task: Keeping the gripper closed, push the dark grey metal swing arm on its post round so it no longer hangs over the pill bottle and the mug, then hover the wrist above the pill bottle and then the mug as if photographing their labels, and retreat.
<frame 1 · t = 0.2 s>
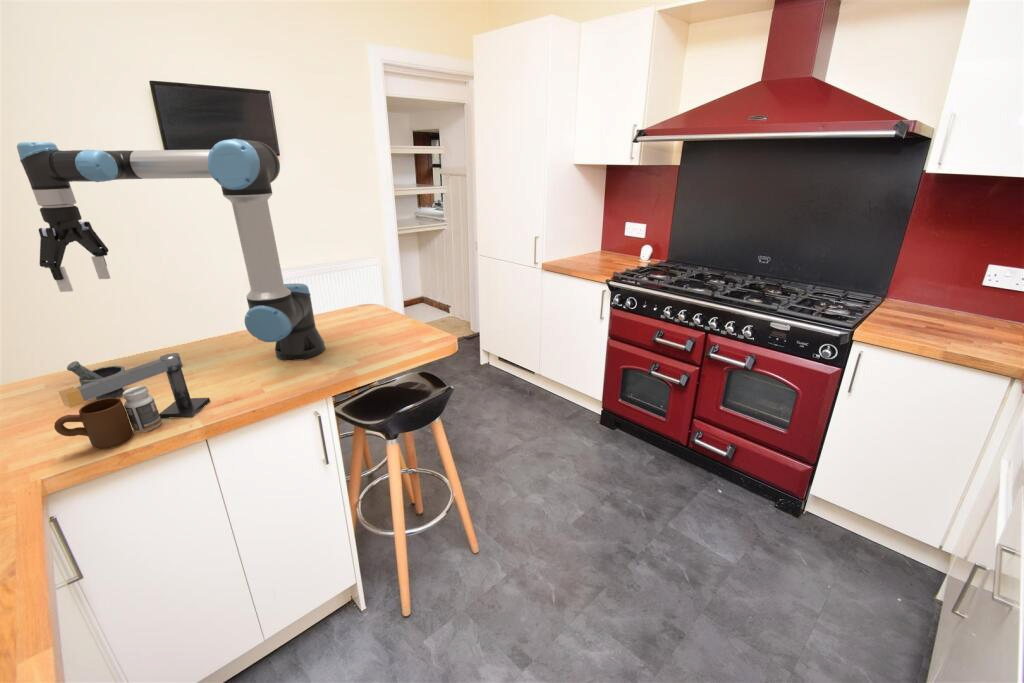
hand: (86, 284, 130), 28 cm above the counter, fingers open, 13 cm apart
mug: (102, 445, 106), on the counter
pill bottle: (148, 427, 113), on the counter
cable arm: (127, 377, 107), point 14 cm above the counter, hinge at 0.0°
mortar and pestle: (107, 397, 127), on the counter
post: (186, 409, 120), on the counter
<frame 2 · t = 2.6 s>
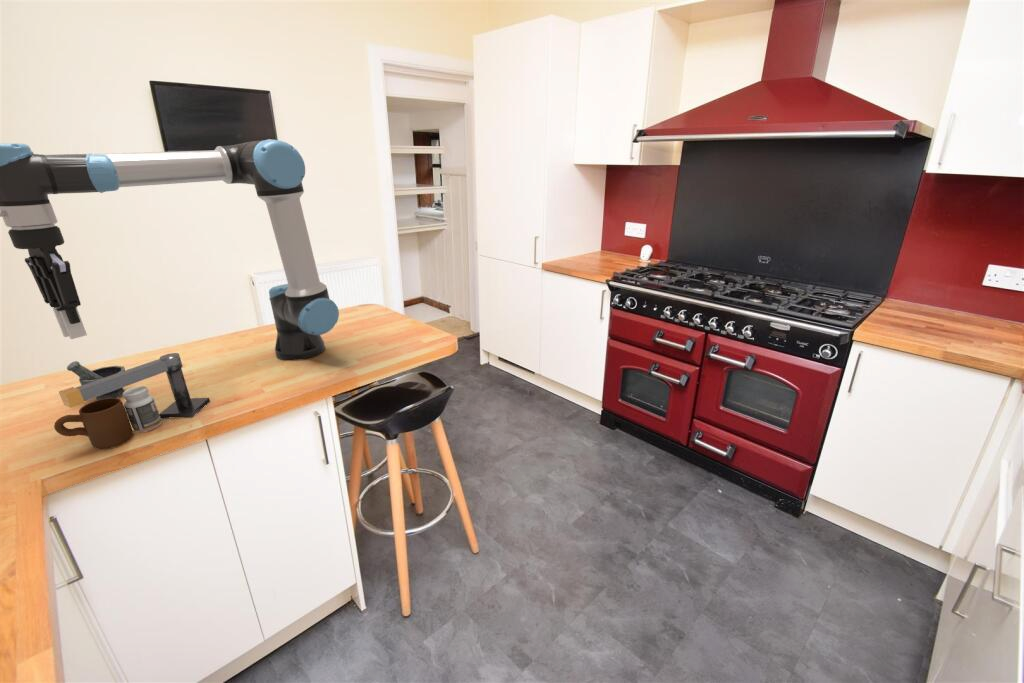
hand: (75, 335, 102), 24 cm above the counter, fingers open, 2 cm apart
nothing on the counter moved.
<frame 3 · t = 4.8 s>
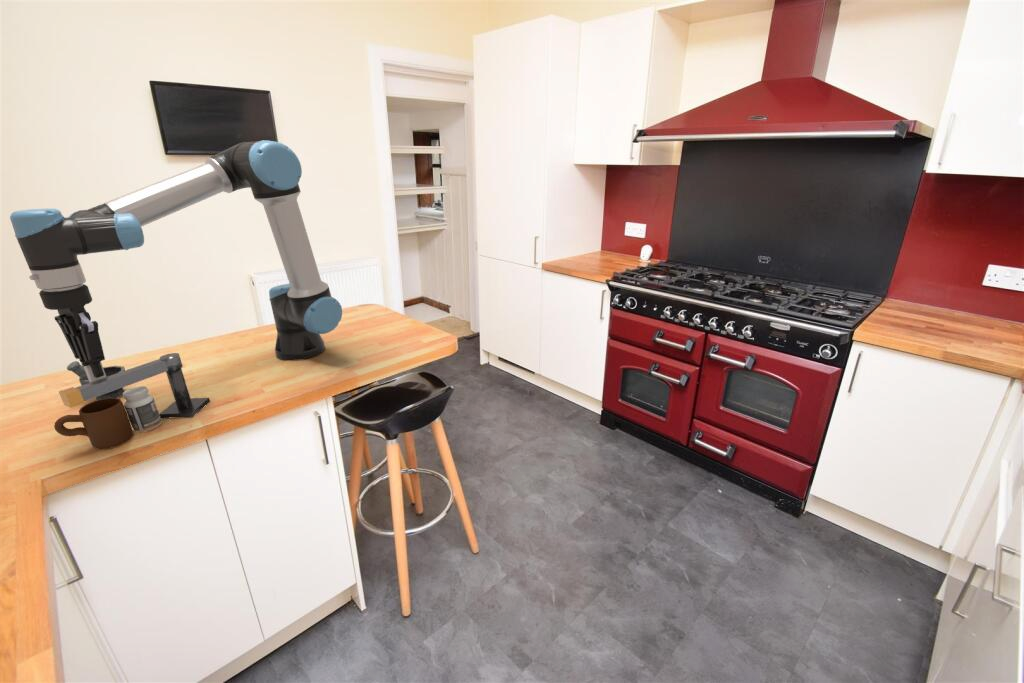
hand: (101, 388, 105), 12 cm above the counter, fingers closed
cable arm: (127, 377, 107), point 13 cm above the counter, hinge at 0.1°, touching gripper
everything else where it was.
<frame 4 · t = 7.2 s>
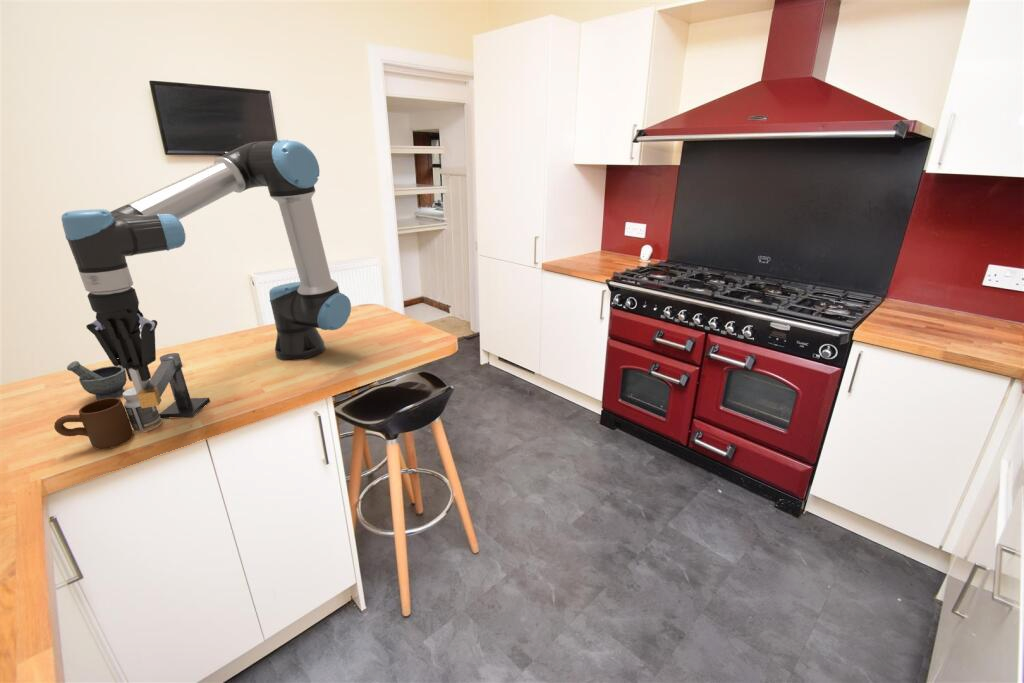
hand: (145, 393, 102), 12 cm above the counter, fingers closed
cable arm: (161, 377, 107), point 14 cm above the counter, hinge at 50.1°, touching gripper
everything else where it was.
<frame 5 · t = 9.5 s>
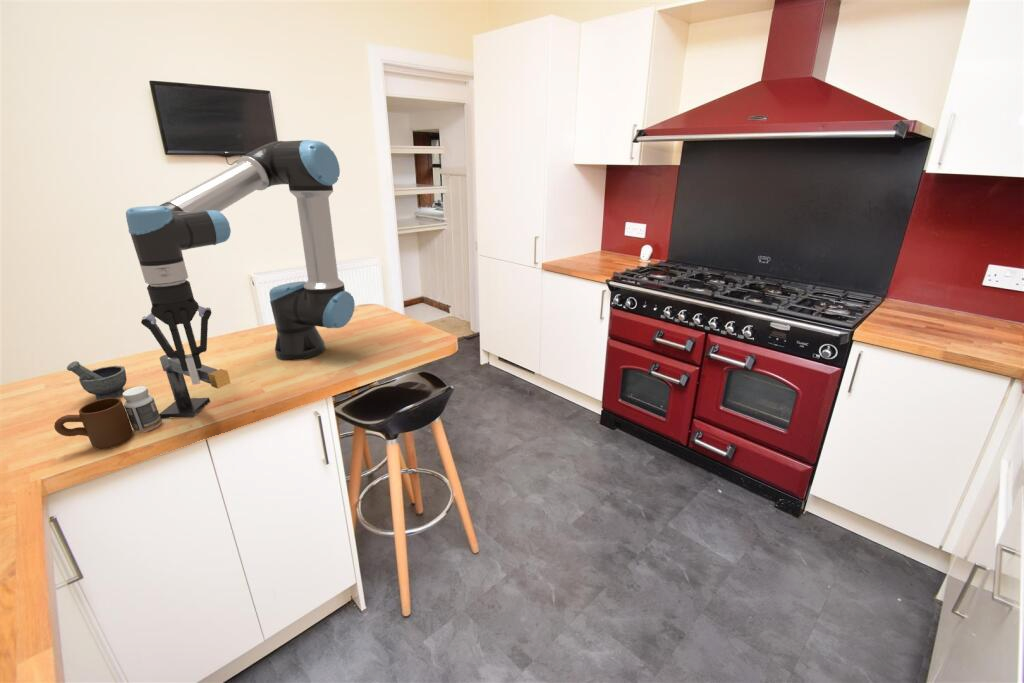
hand: (196, 381, 107), 12 cm above the counter, fingers closed
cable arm: (193, 369, 111), point 14 cm above the counter, hinge at 88.4°, touching gripper
everything else where it was.
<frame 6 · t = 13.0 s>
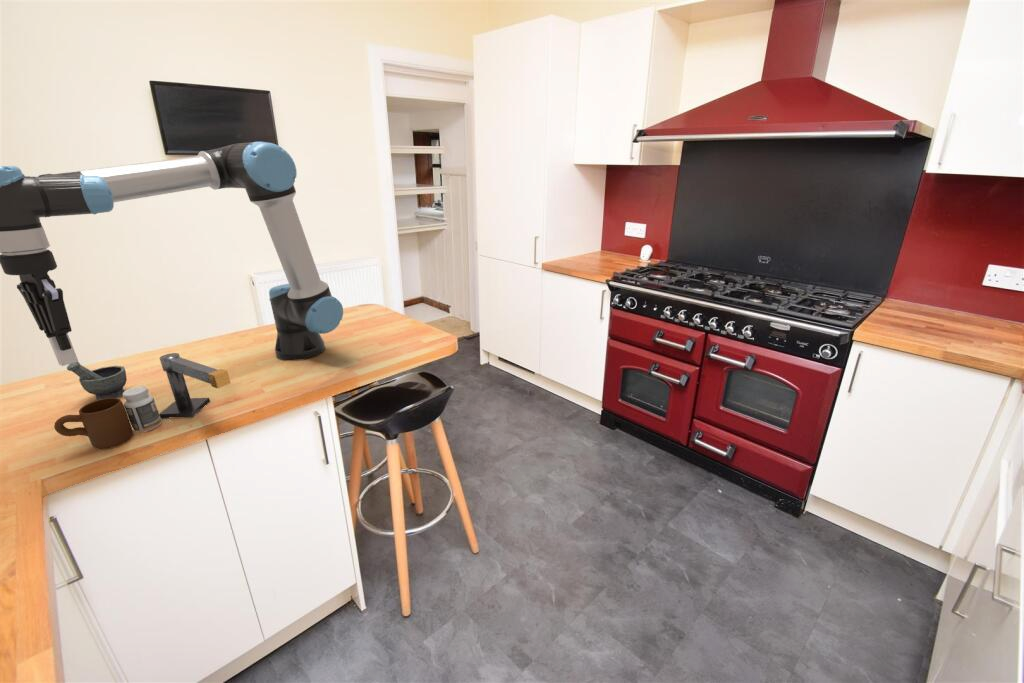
hand: (68, 362, 98), 20 cm above the counter, fingers closed
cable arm: (193, 369, 111), point 14 cm above the counter, hinge at 88.4°
everything else where it was.
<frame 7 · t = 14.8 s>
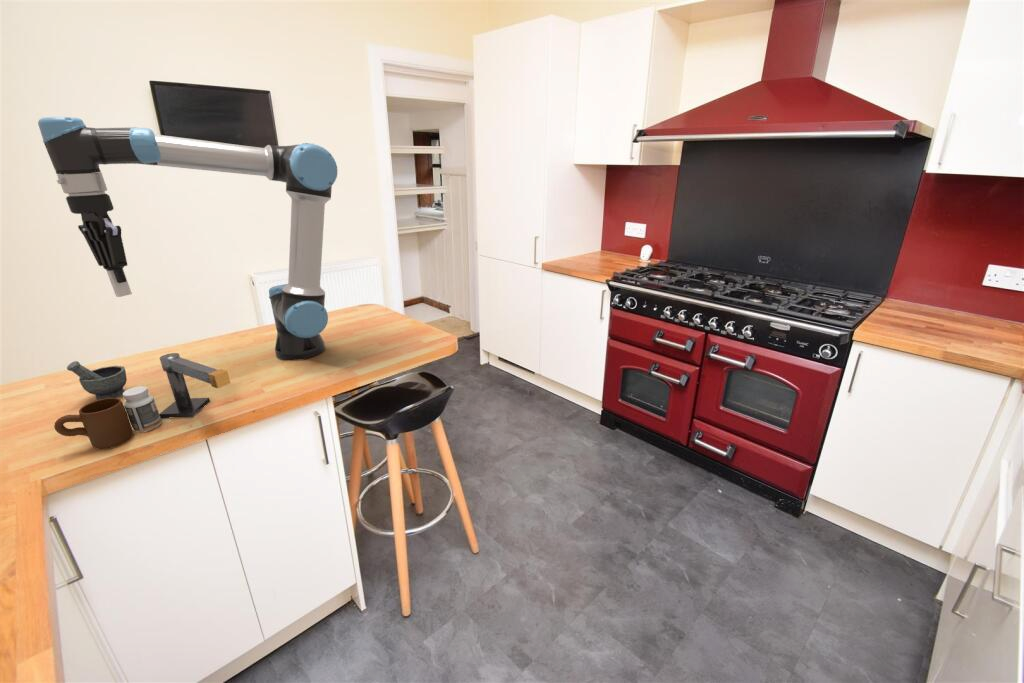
hand: (124, 295, 113), 30 cm above the counter, fingers closed
nothing on the counter moved.
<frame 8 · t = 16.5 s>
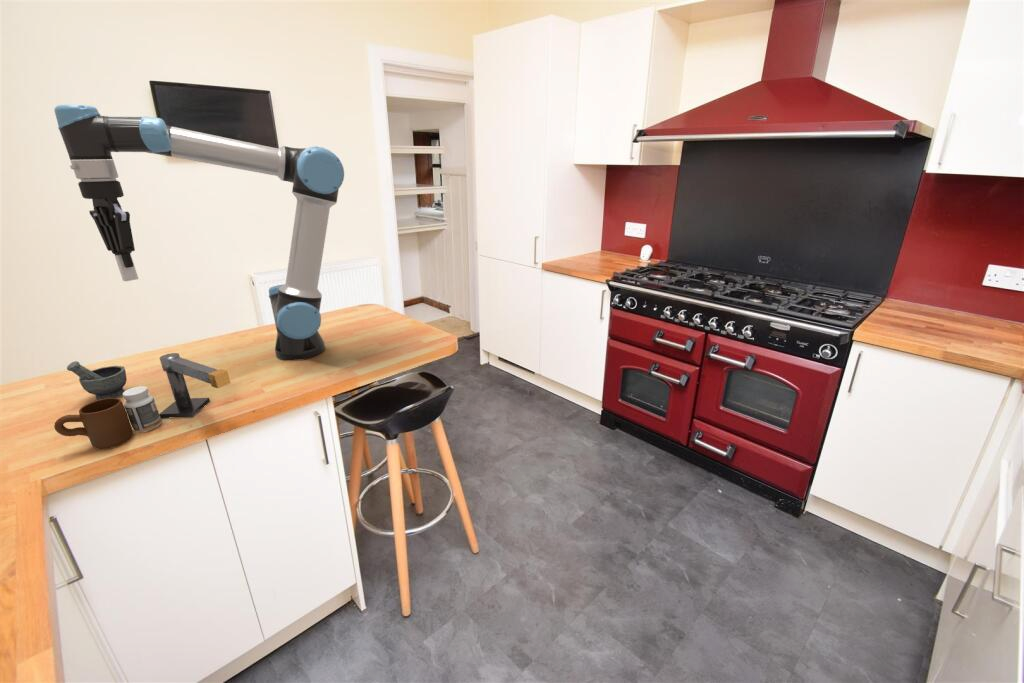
hand: (130, 279, 116), 32 cm above the counter, fingers closed
nothing on the counter moved.
at the end: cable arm at +88° (first picture: +0°); pill bottle moved 0.2 cm from its start; mug moved 0.2 cm from its start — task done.
